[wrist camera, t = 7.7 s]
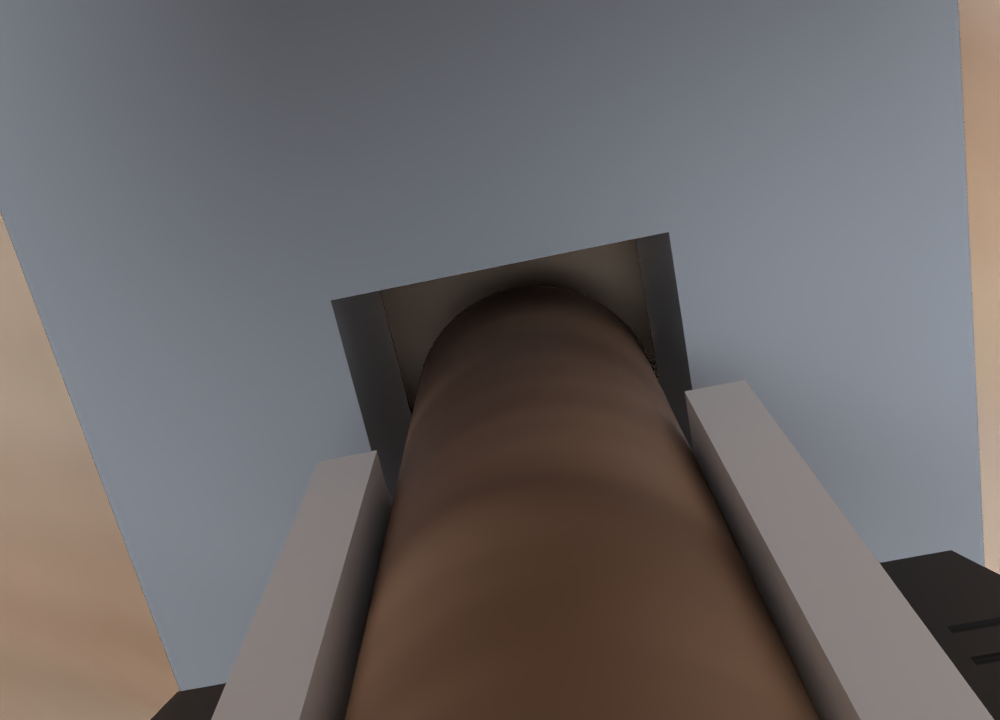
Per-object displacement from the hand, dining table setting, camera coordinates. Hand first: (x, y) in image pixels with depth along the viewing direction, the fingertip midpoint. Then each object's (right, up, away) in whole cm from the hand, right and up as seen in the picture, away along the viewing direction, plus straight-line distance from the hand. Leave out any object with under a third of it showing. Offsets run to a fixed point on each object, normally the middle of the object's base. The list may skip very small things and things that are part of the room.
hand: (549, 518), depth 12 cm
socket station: (-1, +5, +6) cm, 8 cm away
